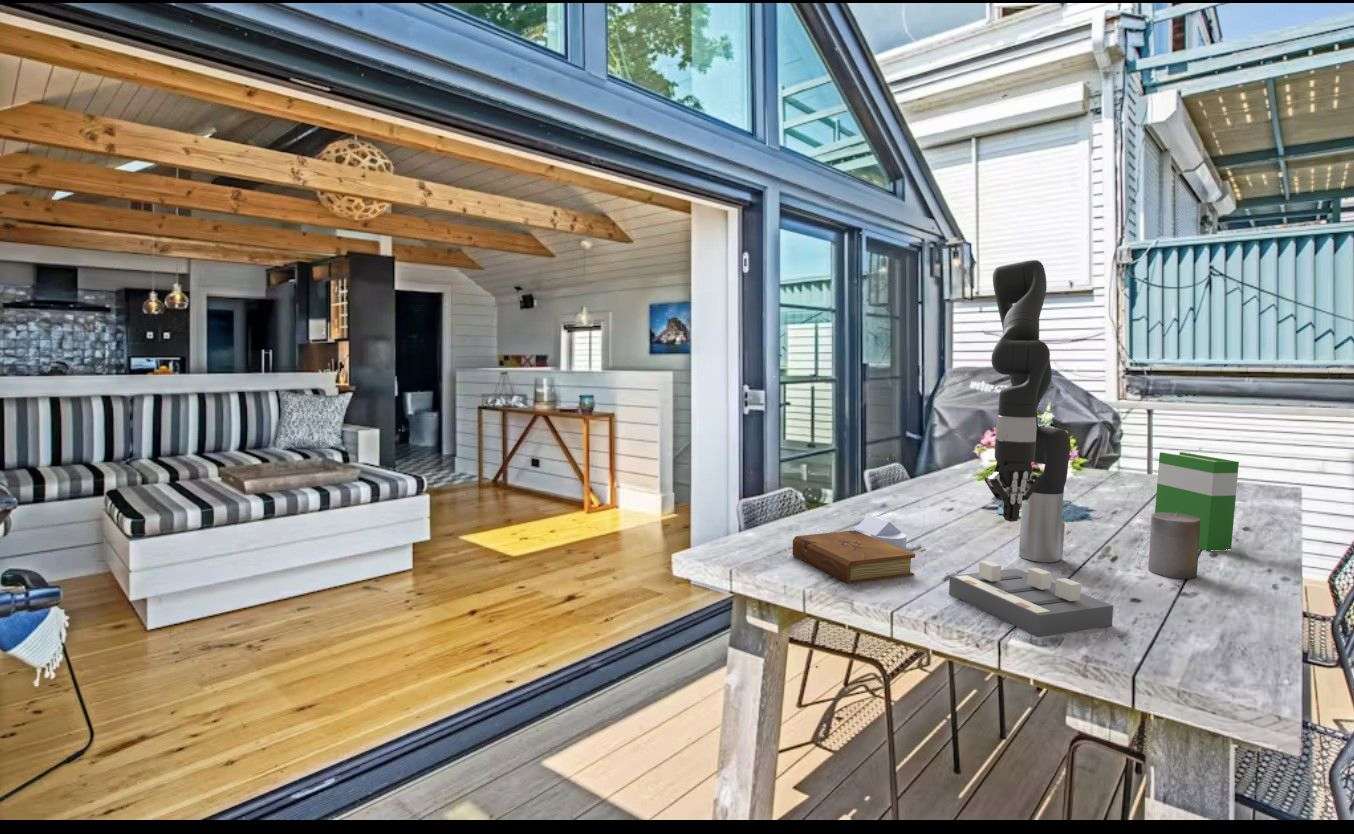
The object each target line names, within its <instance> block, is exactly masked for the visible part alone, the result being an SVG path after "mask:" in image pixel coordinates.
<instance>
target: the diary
mask: <svg viewBox="0 0 1354 834" xmlns="http://www.w3.org/2000/svg"><path fill="white" fill-rule="evenodd" d="M792 556H793V557H794V556H795V558H796V557H797V559H798V558H799V560H800V559H801V560H800V561H802V560H803V562H804V563H806V564H808V565H811V566H812V567H815V568H816V569H818V570H820V571H822V572H824V573H826V574H827V575H830V576H832V577H834V578H836V579H837V580H840V581H842V582H843V583H846V584H848V585H851V584H853V585H854V584H858V583H859V584H861V583H869V582H876V581H883V580H889V579H897V578H898V579H899V578H904V577H912V576H915V573H914V572H913V571H911V569H912V568H911V566H912V564H911V561H912V559H914V558H916V553H914V552H912V551H909V550H907V549H905V550H904V549H902V548H899V547H896V546H894V545H891V544H889V543H886V542H884V541H881V540H878V539H876V538H873V537H871V535H868V534H867V533H866V534H865V533H863V532H860V531H859V530H856V529H855V530H854V529H853V530H848V531H847V530H845V531H836V532H823V533H815V534H805V535H796V536H794V538H793V539H792Z"/></svg>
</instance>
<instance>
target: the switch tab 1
mask: <svg viewBox="0 0 1354 834" xmlns="http://www.w3.org/2000/svg"><path fill="white" fill-rule="evenodd" d="M978 563H979V564H978V573H979V577H981V578H984V579H986V580H989V581H991V582H992V581H1000V580H1001V570H1002V565H1001V564H998V563H995V562H993V561H990V560H982V561H979V562H978Z"/></svg>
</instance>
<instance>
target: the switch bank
mask: <svg viewBox="0 0 1354 834" xmlns="http://www.w3.org/2000/svg"><path fill="white" fill-rule="evenodd" d="M1027 578H1028V571H1027V572H1026V571H1024V570H1021V569H1018V568H1011V569H1001V580H1000V581H992V582H991V581H989V580H986V579H984V578H981V577H979V572H972V573H965V574H956V575H955V574H954V575H949V585H948V594H949V596H952V597H954V598H955V599H956V598H957V599H958V600H960V599H961V600H960V601H962V600H963V602H965V603H967V604H969V605H971V606H973V607H975V606H976V607H975V608H977V609H979V608H980V609H979V610H982V611H984V612H986V613H987V614H990V615H992V616H994V617H996V618H998V619H1001V620H1002V621H1005V622H1007V623H1008V624H1010V625H1012V626H1015V627H1018V628H1019V629H1021V630H1023V631H1024V632H1025V631H1026V632H1028V633H1029V634H1032V635H1033V636H1035V637H1039V638H1040V637H1046V636H1053V635H1059V634H1067V633H1073V632H1080V631H1086V630H1092V629H1100V628H1106V627H1112V626H1113V618H1114V617H1113V616H1114V605H1113V604H1111V603H1108V602H1105V601H1102V600H1100V599H1098V598H1095V597H1092V596H1090V595H1087V594H1085V593H1083V592H1081V594H1080V600H1077V601H1068V600H1066V599H1063V598H1061V597H1058V596H1056V595H1055V589H1056V582H1053V581H1051V588H1050V589H1042V590H1041V589H1038V588H1036V587H1033V586H1031V585H1028V584H1027Z"/></svg>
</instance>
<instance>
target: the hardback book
mask: <svg viewBox="0 0 1354 834" xmlns="http://www.w3.org/2000/svg"><path fill="white" fill-rule="evenodd" d="M1158 456H1159V457H1158V467H1157V471H1158V472H1157V483H1156V484H1157V485H1156V497H1155V505H1154V506H1155V507H1154V508H1155V509H1154V513H1161V512H1165V513H1176V512H1177V511H1178V513H1179V514H1185V515H1190V516H1194V517H1197V518H1199V519H1200V538H1199V550H1200V549H1202V550H1201V551H1203V550H1206V551H1205V552H1207V551H1208V552H1212V551H1211V550H1226V549H1227V550H1228V549H1231V550H1232V545H1233V544H1232V543H1233V532H1234V522H1235V521H1234V520H1235V510H1236V509H1235V508H1236V500H1237V499H1236V497H1237V488H1238V475H1239V467H1240V465H1239V463H1240V461H1236V460H1230V459H1225V458H1218V457H1214V456H1213V457H1212V456H1206V455H1201V454H1195V453H1189V452H1182V451H1181V452H1180V451H1179V453H1178V454H1174V453H1168V452H1162V451H1160V452H1159V455H1158Z"/></svg>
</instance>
